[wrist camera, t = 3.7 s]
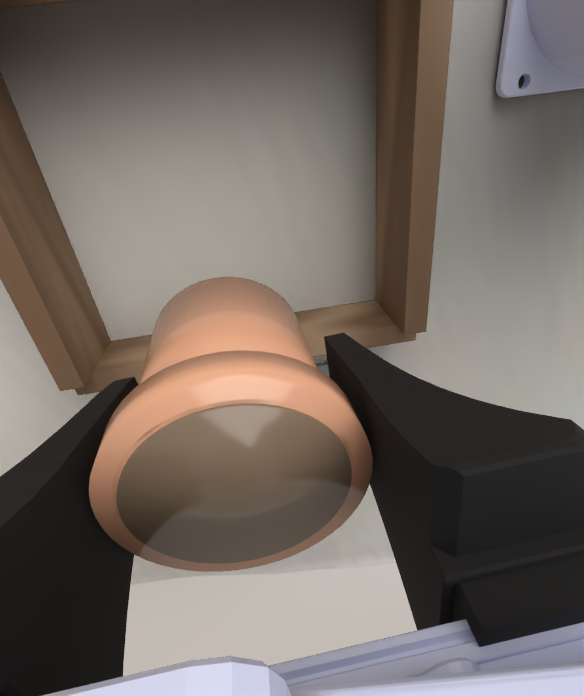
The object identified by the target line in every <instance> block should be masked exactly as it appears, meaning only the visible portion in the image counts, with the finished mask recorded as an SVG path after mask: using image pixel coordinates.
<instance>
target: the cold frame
mask: <svg viewBox="0 0 584 696" xmlns="http://www.w3.org/2000/svg"><path fill="white" fill-rule="evenodd" d="M62 1H72V0H0V8H6V7H15V6H25V5H34V4H44V3H53V2H62ZM453 2H454V0H377V142H376V300H372V301H365V302H359V303H352V304H346V305H340V306H333V307H327V308H320V309H314V310H308V311H301V312H295V315H296V317H297V320H298V322H299V324H300V327H301V329H302V332H303V334H304V337H305V339H306V341H307V344H308V346H309V349H310V351H311V354H312V356H313V357H315V356H321V355H326V347H325V340H324V337H325V336H329V335H334V334H339V333H345V334H347V335H348V336H349V337H351V338H352V339H354V340H355V341H357V342H358V343H359V344H361V345H362V346H364V347H365V348H370V347H376V346H382V345H388V344H395V343H401V342H407V341H413V340H416V333H420V332H426V326H427V314H428V302H429V290H430V278H431V266H432V254H433V242H434V230H435V218H436V206H437V194H438V182H439V170H440V158H441V146H442V134H443V122H444V110H445V98H446V86H447V74H448V62H449V50H450V38H451V26H452V14H453ZM0 278H1V280H2V282H3V284H4V286H5V288H6V290H7V292H8V294H9V295H10V297H11V299H12V301H13V303H14V305H15V307H16V309H17V311H18V312H19V314H20V316H21V318H22V320H23V322H24V324H25V326H26V327H27V329H28V331H29V333H30V335H31V337H32V339H33V341H34V343H35V344H36V346H37V348H38V350H39V352H40V354H41V356H42V358H43V360H44V361H45V363H46V365H47V367H48V369H49V371H50V373H51V375H52V376H53V378H54V380H55V382H56V384H57V386H58V388H59V390H60V391H63V390H69V389H75V390H76V392H77V394H78V395H82V394H89V393H95V392H101V391H102V390H103V389H104V388H106V387H107V386H108V385H109V384H111V383H112V382H113V381H116V380H120V379H125V378H130V377H135V379H136V381H137V383H138V385H139V383H140V379H141V375H142V372H143V368H144V364H145V361H146V357H147V353H148V350H149V346H150V342H151V339H152V335H148V336H141V337H135V338H128V339H122V340H116V341H110V339H109V336H108V334H107V331H106V329H105V326H104V324H103V322H102V319H101V317H100V314H99V312H98V309H97V307H96V305H95V302H94V300H93V297H92V295H91V292H90V290H89V287H88V285H87V283H86V280H85V278H84V275H83V273H82V270H81V268H80V266H79V263H78V261H77V258H76V256H75V253H74V251H73V248H72V246H71V244H70V241H69V239H68V236H67V234H66V231H65V229H64V227H63V224H62V222H61V219H60V217H59V214H58V212H57V209H56V207H55V205H54V202H53V200H52V197H51V195H50V192H49V190H48V188H47V185H46V183H45V180H44V178H43V175H42V173H41V170H40V168H39V166H38V163H37V161H36V158H35V156H34V153H33V151H32V149H31V146H30V144H29V141H28V139H27V136H26V134H25V131H24V129H23V127H22V124H21V122H20V119H19V117H18V114H17V112H16V110H15V107H14V105H13V102H12V100H11V97H10V95H9V93H8V90H7V88H6V85H5V83H4V80H3V78H2V75H1V73H0Z"/></svg>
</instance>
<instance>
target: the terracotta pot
mask: <svg viewBox="0 0 584 696" xmlns="http://www.w3.org/2000/svg"><path fill="white" fill-rule="evenodd" d="M372 463H373V459H372V452H371V447H370V444H369V441H368V439H367V436H366V434H365V432H364V430H363V427H362V425H361V423H360V421H359V419H358V417H357V415H356V413H355V411H354V409H353V407H352V404H351V403H350V401H349V399H348V398H347V396H346V394H345V393H344V392H343V391H342V389H341V388H340V387H339V386H338V385H337V384H336V383H335V382H334V381H333V380H332V379H330V378H329V377H328V376H327V375H326V374H324V373H323V372H321V371H319V370H318V368H317V366H316V363H315V361H314V358H313V356H312V354H311V351H310V349H309V346H308V344H307V341H306V339H305V337H304V334H303V332H302V329H301V327H300V324H299V322H298V320H297V317H296V315H295V313H294V311H293V310H292V308H291V307H290V305H289V304H288V303H287V302H286V300H285V299H284V298H282V297H281V296H280V295H279V294H278V293H277V292H275V291H274V290H272V289H271V288H269V287H267V286H265V285H263V284H261V283H258V282H255V281H253V280H248V279H244V278H236V277H220V278H213V279H208V280H204V281H201V282H198V283H196V284H193V285H191V286H189V287H187V288H186V289H184V290H182V291H181V292H179V293H178V294H177V295H176V296H174V297H173V298H172V299H171V300H170V301H169V302H168V303H167V304H166V306H165V307H164V309H163V310H162V311H161V313H160V315H159V317H158V319H157V321H156V325H155V328H154V331H153V335H152V339H151V342H150V346H149V350H148V353H147V357H146V361H145V364H144V368H143V372H142V375H141V379H140V383H139V385H138V386H137V387H135V388H134V389H133V390H132V391H131V392H130V393H129V394H128V395H127V396H126V397H125V398H124V399H123V400H122V402H121V403H120V404H119V406H118V407H117V408H116V410H115V411H114V412H113V414H112V416H111V418H110V420H109V422H108V424H107V426H106V429H105V432H104V435H103V438H102V441H101V444H100V447H99V450H98V453H97V456H96V459H95V462H94V465H93V468H92V472H91V475H90V481H89V497H90V504H91V507H92V510H93V512H94V515H95V517H96V519H97V521H98V522H99V524H100V525H101V527H102V528H103V530H104V531H105V532H106V533H107V534H108V535H109V536H110V537H111V538H112V539H113V540H114V541H115V542H117V543H118V544H119V545H120V546H121V547H123V548H125V549H126V550H128V551H129V552H131V553H133V554H135V555H137V556H139V557H141V558H143V559H145V560H148V561H151V562H154V563H157V564H160V565H164V566H168V567H172V568H177V569H184V570H192V571H230V570H240V569H246V568H252V567H257V566H261V565H265V564H269V563H272V562H275V561H279V560H282V559H284V558H287V557H290V556H292V555H295V554H297V553H299V552H301V551H303V550H305V549H307V548H309V547H311V546H313V545H314V544H316V543H318V542H320V541H321V540H323V539H324V538H325V537H327V536H328V535H330V534H331V533H333V532H334V531H335V530H336V529H337V528H338V527H340V526H341V525H342V524H343V523H344V522H345V521H346V520H347V519H348V518H349V517H350V516H351V515H352V513H353V512H354V511H355V509H356V508H357V507H358V505H359V504H360V502H361V500H362V499H363V497H364V495H365V493H366V491H367V488H368V486H369V483H370V479H371V474H372Z"/></svg>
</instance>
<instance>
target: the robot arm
mask: <svg viewBox="0 0 584 696" xmlns="http://www.w3.org/2000/svg"><path fill="white" fill-rule="evenodd" d="M521 76H523V77H524V83H523V86H522V87H521V88H519V87H518V81H519V78H520V77H521ZM581 88H584V0H508V1H507V8H506V16H505V23H504V30H503V37H502V45H501V52H500V59H499V66H498V73H497V81H496V92H497V94H498V96H500V97H501V98H510V97H518V96H526V95H534V94H542V93H549V92H557V91H565V90H573V89H581ZM324 340H325V347H326V355H327V362H328V369H329V377H330V379H332V380H333V381H334V382H335V383H336V384H337V385H338V386H339V387H340V388H341V389H342V391H343V392H344V393H345V394H346V396H347V398H348V399H349V401H350V403H351V404H352V407H353V409H354V411H355V413H356V415H357V417H358V419H359V421H360V423H361V425H362V427H363V430H364V432H365V434H366V436H367V439H368V441H369V444H370V447H371V452H372V459H373V463H372V474H371V479H370V485H371V488H372V491H373V494H374V496H375V499H376V502H377V505H378V508H379V511H380V514H381V517H382V520H383V523H384V526H385V529H386V532H387V535H388V538H389V541H390V544H391V547H392V550H393V553H394V557H395V560H396V563H397V566H398V569H399V572H400V575H401V579H402V582H403V585H404V588H405V591H406V594H407V598H408V601H409V604H410V607H411V611H412V614H413V617H414V620H415V624H416V627H417V631H413V632H409V633H405V634H401V635H397V636H392V637H388V638H384V639H380V640H375V641H371V642H367V643H363V644H359V645H354V646H350V647H346V648H342V649H338V650H333V651H329V652H325V653H321V654H316V655H312V656H308V657H304V658H300V659H295V660H291V661H287V662H283V663H279V664H274V665H270V666H267V665H266V664H265V663H264V662H262V661H257V660H252V659H245V658H239V657H233V656H226V657H217V658H209V659H200V660H191V661H187V662H182V663H178V664H174V665H170V666H166V667H161V668H157V669H153V670H149V671H145V672H140V673H136V674H132V675H127V676H123V660H124V647H125V634H126V620H127V609H128V600H129V591H130V582H131V573H132V566H133V558H134V554H133V553H131V552H129V551H128V550H126V549H125V548H123V547H121V546H120V545H119V544H118V543H117V542H115V541H114V540H113V539H112V538H111V537H110V536H109V535H108V534H107V533H106V532H105V531H104V530H103V528H102V527H101V525H100V524H99V522H98V521H97V519H96V517H95V515H94V512H93V510H92V507H91V504H90V497H89V481H90V475H91V472H92V468H93V465H94V462H95V459H96V456H97V453H98V450H99V447H100V444H101V441H102V438H103V435H104V432H105V429H106V426H107V424H108V422H109V420H110V418H111V416H112V414H113V412H114V411H115V410H116V408H117V407H118V406H119V404H120V403H121V402H122V400H123V399H124V398H125V397H126V396H127V395H128V394H129V393H130V392H131V391H132V390H133V389H134V388H135V387H137V386H138V383H137V381H136V379H135V377H130V378H125V379H120V380H116V381H113V382H112V383H111V384H109V385H108V386H107V387H106V388H104V389H103V390H102V391H101V392H100V393H99V394H98V395H97V396H95V397H94V398H93V399H92V400H91V401H90V402H89V403H88V404H87V405H86V406H85V407H83V408H82V409H81V410H80V411H79V412H78V413H77V414H76V415H75V416H74V417H73V418H71V419H70V420H69V421H68V422H67V423H66V424H65V425H64V426H63V427H61V428H60V429H59V430H58V431H57V432H56V433H54V434H53V435H52V436H51V437H50V438H49V439H47V440H46V441H45V442H44V443H43V444H42V445H40V446H39V447H38V448H37V449H36V450H35V451H33V452H32V453H31V454H30V455H28V456H27V457H26V458H25V459H23V460H22V461H21V462H19V463H18V464H17V465H16V466H14V467H13V468H11V469H10V470H9V471H7V472H6V473H5V474H3V475H2V476H1V477H0V696H584V430H583V429H582V428H581V427H579V426H578V425H577V424H576V423H574V422H573V421H572V420H569V419H563V418H557V417H551V416H546V415H540V414H534V413H529V412H523V411H518V410H514V409H510V408H506V407H502V406H497V405H493V404H489V403H486V402H482V401H479V400H475V399H472V398H469V397H466V396H463V395H460V394H457V393H454V392H451V391H448V390H445V389H443V388H440V387H437V386H435V385H433V384H431V383H428V382H426V381H424V380H421V379H419V378H417V377H415V376H413V375H410V374H408V373H407V372H405V371H403V370H401V369H399V368H397V367H395V366H394V365H392V364H390V363H388V362H387V361H385V360H383V359H382V358H380V357H379V356H377V355H375V354H374V353H372V352H371V351H369V350H368V349H367V348H365V347H364V346H362V345H361V344H359V343H358V342H357V341H355V340H354V339H352V338H351V337H349V336H348V335H347V334H345V333H339V334H334V335H329V336H325V337H324Z"/></svg>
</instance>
